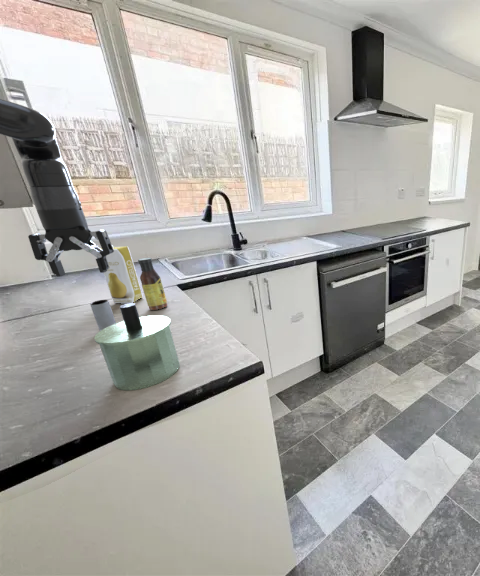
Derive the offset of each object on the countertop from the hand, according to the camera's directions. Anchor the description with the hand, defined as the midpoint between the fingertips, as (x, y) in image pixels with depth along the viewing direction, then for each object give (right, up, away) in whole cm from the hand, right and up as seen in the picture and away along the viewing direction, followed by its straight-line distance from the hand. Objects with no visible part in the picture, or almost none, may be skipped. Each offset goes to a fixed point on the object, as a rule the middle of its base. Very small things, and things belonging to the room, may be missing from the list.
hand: (83, 273), depth 77 cm
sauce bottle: (-14, -12, +45) cm, 49 cm away
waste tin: (+14, -26, +3) cm, 29 cm away
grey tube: (-17, -18, +27) cm, 37 cm away
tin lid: (+14, -14, -1) cm, 20 cm away
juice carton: (-32, -9, +53) cm, 63 cm away
